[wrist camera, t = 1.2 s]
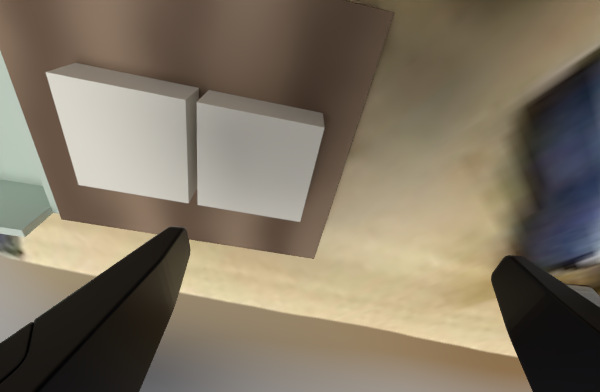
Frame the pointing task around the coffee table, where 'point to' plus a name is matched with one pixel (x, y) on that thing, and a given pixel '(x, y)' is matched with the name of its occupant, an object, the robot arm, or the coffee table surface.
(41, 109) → the brown flat block
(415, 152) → the coffee table surface
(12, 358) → the robot arm
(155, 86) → the tile
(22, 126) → the box
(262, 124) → the tile
